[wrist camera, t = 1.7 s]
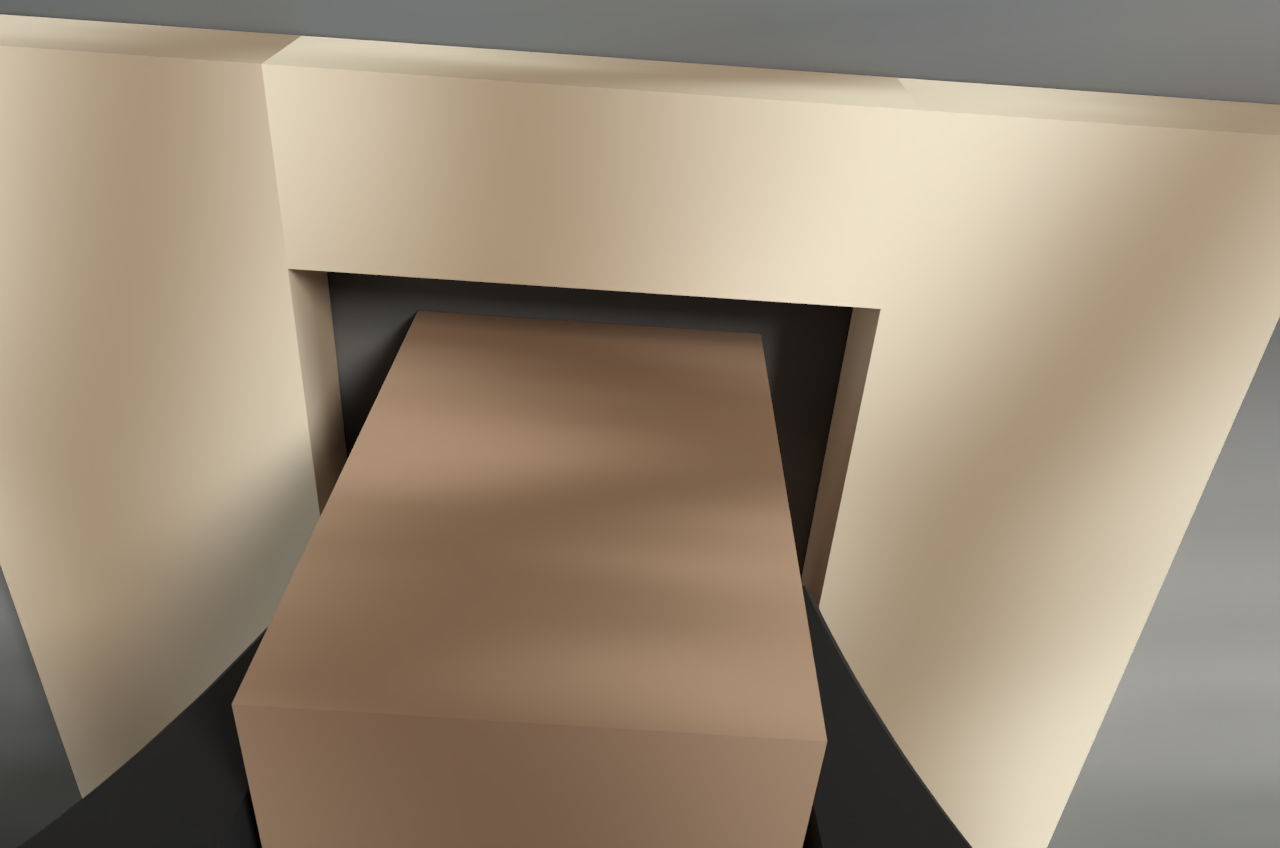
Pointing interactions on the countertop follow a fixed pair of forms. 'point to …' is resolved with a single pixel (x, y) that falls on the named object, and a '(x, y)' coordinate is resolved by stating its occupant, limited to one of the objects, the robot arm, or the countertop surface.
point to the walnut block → (545, 606)
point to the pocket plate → (631, 262)
